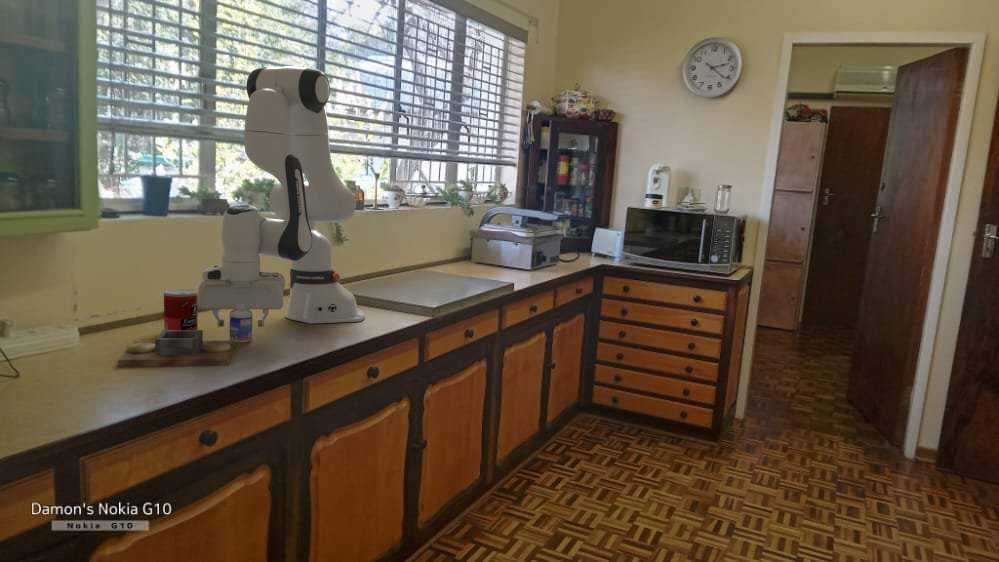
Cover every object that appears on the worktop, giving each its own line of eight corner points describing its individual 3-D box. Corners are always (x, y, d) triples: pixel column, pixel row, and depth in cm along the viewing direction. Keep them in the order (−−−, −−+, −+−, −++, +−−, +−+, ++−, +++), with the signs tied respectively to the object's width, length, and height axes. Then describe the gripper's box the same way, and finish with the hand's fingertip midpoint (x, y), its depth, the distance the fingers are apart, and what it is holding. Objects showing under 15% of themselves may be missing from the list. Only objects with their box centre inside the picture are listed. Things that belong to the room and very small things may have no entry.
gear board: (234, 346, 174) (234, 326, 174) (227, 365, 159) (227, 343, 158) (135, 347, 169) (134, 326, 168) (118, 366, 153) (117, 344, 153)
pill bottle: (225, 339, 180) (225, 301, 179) (245, 336, 184) (245, 299, 183) (236, 344, 177) (236, 305, 175) (256, 341, 181) (256, 303, 179)
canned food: (185, 338, 179) (185, 295, 177) (157, 335, 180) (156, 292, 178) (204, 332, 186) (203, 290, 184) (176, 328, 188) (176, 287, 186)
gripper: (285, 270, 183) (284, 323, 186) (199, 268, 178) (199, 323, 180) (284, 274, 177) (284, 329, 180) (195, 273, 172) (196, 329, 174)
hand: (241, 326), depth 180 cm, fingers open, 8 cm apart
